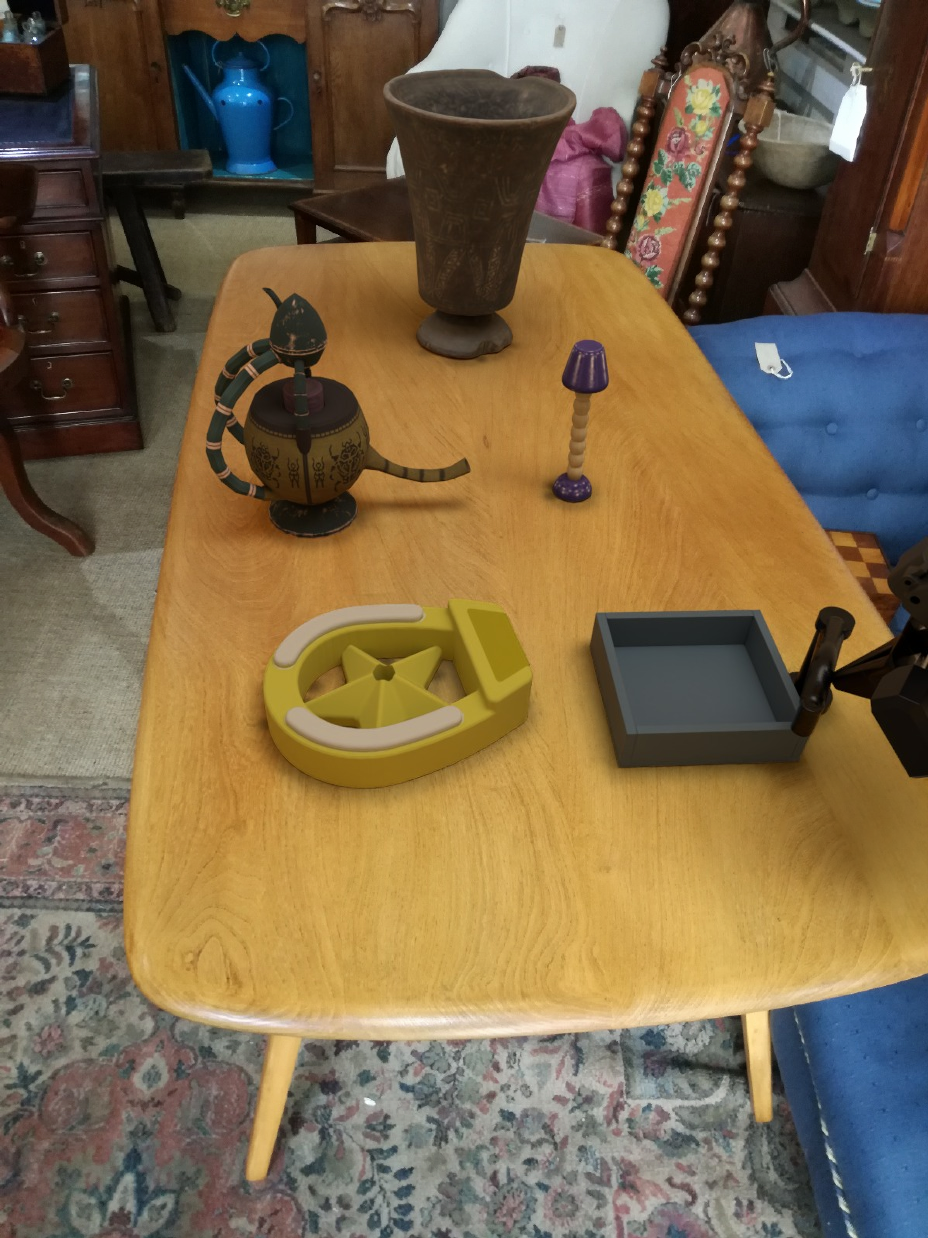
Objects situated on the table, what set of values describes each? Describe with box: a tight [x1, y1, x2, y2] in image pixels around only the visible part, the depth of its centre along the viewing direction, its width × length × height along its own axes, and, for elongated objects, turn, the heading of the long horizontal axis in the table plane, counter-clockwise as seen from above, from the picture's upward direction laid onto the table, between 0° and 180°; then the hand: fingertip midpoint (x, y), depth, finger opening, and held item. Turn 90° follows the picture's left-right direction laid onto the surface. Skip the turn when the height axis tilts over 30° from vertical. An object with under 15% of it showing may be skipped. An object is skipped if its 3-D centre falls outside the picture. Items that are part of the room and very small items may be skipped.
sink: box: [589, 609, 811, 768], centre depth 77 cm, size 15×14×4 cm
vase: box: [382, 68, 577, 359], centre depth 115 cm, size 22×22×30 cm
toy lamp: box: [552, 339, 610, 503], centre depth 95 cm, size 5×5×17 cm
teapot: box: [205, 287, 472, 540], centre depth 88 cm, size 12×25×23 cm, turn 96°
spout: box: [790, 605, 857, 737], centre depth 71 cm, size 12×3×3 cm, turn 154°
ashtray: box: [262, 597, 534, 789], centre depth 76 cm, size 16×21×5 cm
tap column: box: [788, 630, 834, 716], centre depth 77 cm, size 4×4×8 cm
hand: (834, 681), depth 69 cm, fingers closed, pressing on spout
